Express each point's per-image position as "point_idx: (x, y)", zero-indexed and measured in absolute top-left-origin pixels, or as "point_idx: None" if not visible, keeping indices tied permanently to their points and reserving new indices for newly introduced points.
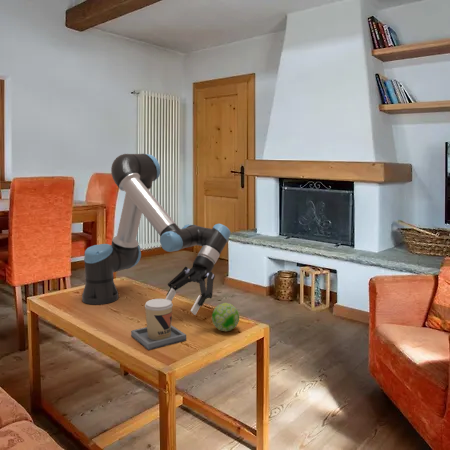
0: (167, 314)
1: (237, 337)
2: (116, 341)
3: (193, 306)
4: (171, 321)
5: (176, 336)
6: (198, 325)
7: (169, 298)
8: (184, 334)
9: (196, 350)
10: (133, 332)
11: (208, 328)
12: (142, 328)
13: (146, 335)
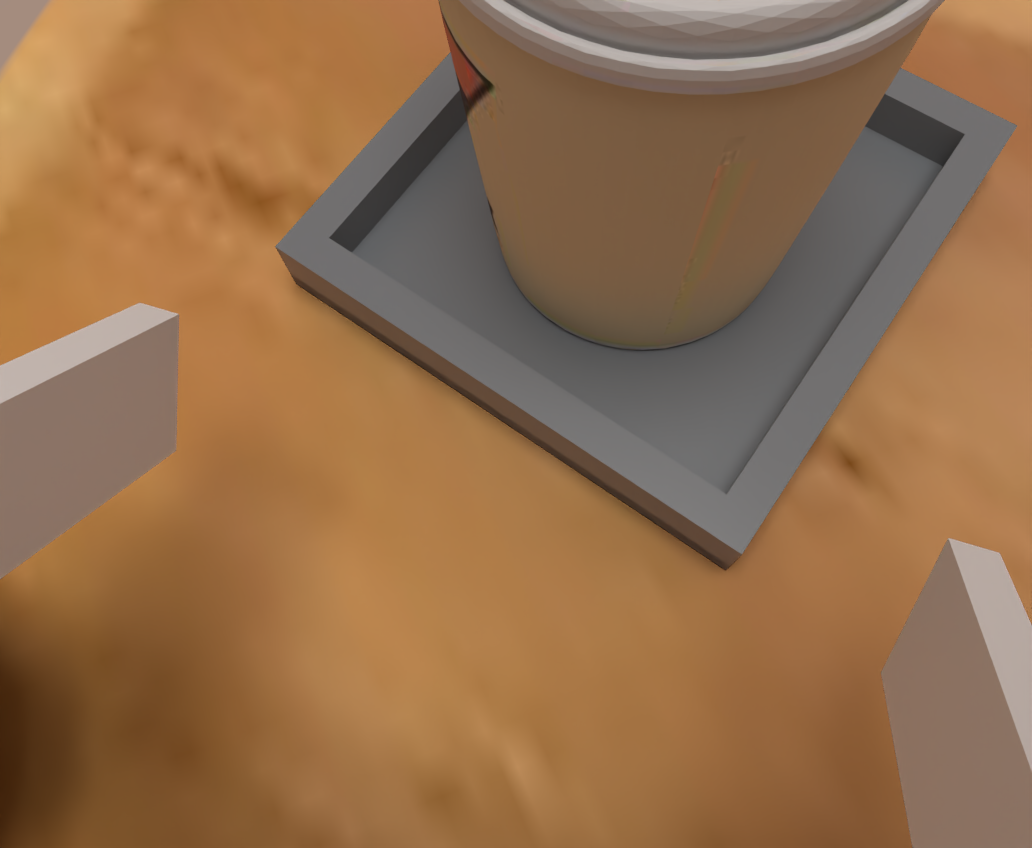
0: None
1: None
2: (1027, 15)
3: (90, 343)
4: (478, 157)
5: (374, 164)
6: (317, 833)
7: (954, 719)
8: (301, 246)
9: (107, 111)
10: (946, 91)
11: (129, 764)
12: (932, 229)
13: None
